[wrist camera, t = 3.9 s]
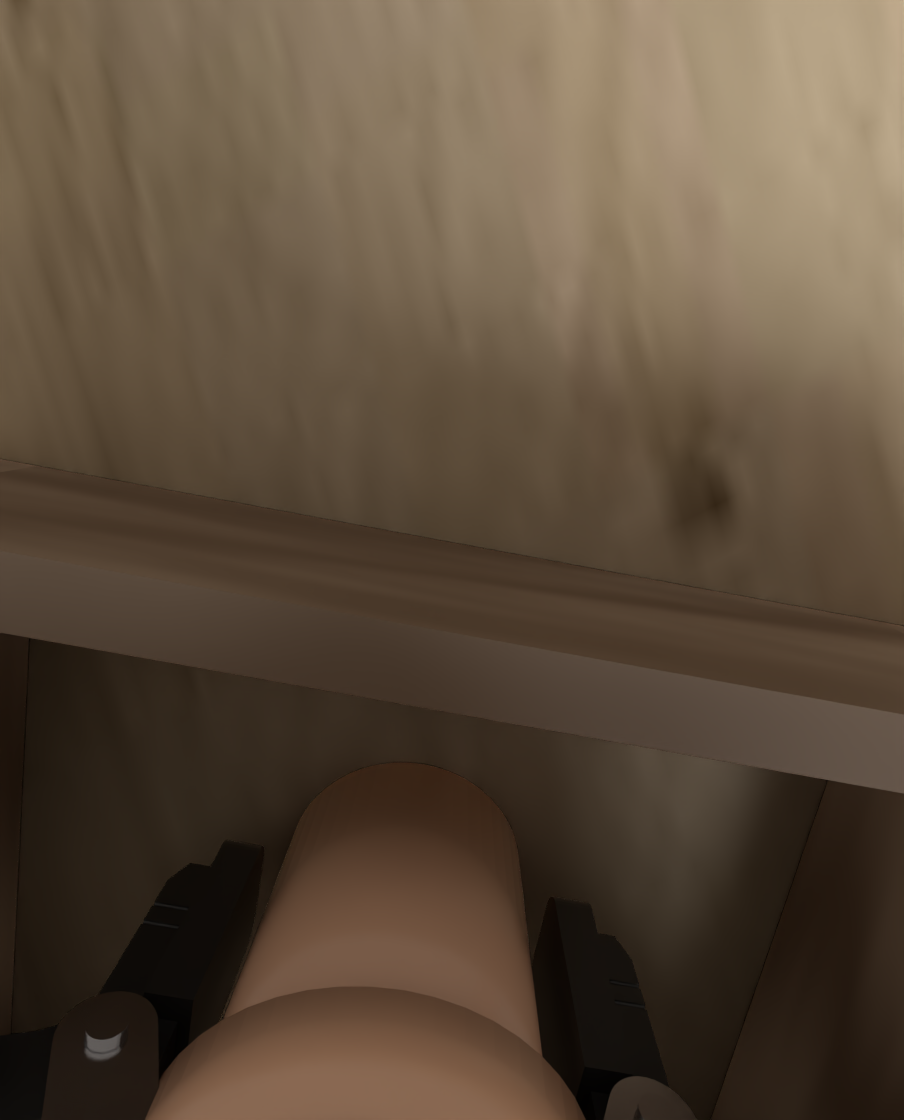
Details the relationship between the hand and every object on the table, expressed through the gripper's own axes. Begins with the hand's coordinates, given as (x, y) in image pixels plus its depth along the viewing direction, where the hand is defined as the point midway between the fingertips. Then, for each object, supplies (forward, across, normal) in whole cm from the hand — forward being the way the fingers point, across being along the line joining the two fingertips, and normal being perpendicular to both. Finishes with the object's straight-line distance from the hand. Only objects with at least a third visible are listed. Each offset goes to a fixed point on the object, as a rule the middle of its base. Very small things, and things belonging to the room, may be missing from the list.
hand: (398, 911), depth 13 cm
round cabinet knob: (+1, 0, 0) cm, 1 cm away
